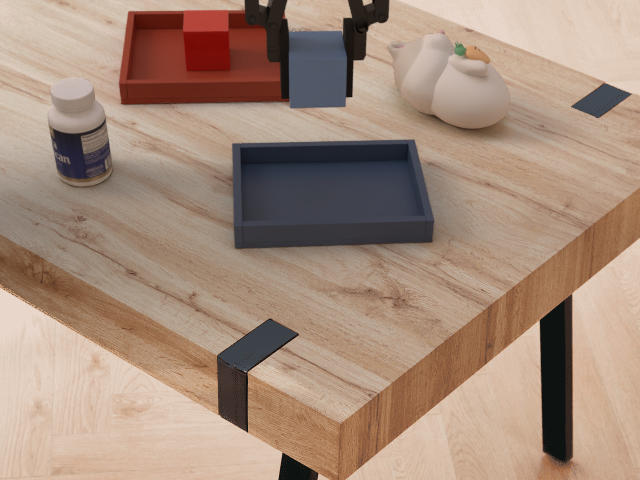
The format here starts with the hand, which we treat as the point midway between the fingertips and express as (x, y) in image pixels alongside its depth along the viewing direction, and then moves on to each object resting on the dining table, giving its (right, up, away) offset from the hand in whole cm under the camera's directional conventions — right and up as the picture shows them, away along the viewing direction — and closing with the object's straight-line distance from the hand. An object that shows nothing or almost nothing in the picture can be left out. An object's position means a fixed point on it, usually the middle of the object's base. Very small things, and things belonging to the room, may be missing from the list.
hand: (316, 89), depth 98 cm
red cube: (-14, +8, +26) cm, 31 cm away
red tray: (-14, +8, +26) cm, 31 cm away
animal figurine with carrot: (+13, +1, +21) cm, 25 cm away
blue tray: (+1, -10, +8) cm, 12 cm away
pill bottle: (-24, -7, +10) cm, 26 cm away
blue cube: (0, 0, 0) cm, 0 cm away
